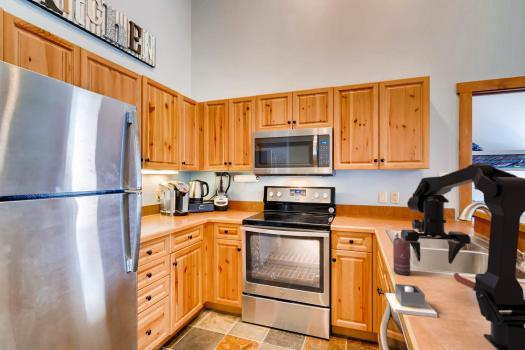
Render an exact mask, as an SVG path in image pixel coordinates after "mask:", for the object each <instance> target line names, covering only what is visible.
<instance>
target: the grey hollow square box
mask: <svg viewBox="0 0 525 350" xmlns="http://www.w3.org/2000/svg"><path fill="white" fill-rule="evenodd" d="M405 286H410V287H413V288H414V292H405ZM394 294H395V297H396V298H397V300H398V302H399V303H400V305H401V306H407V307H417V308H425V300H426V296H425V293H424V292H423V291H422V290H421V288H420V287H418V285H413V284H412V285H411V284H401V283H400V284H399V283H395V284H394Z"/></svg>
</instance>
